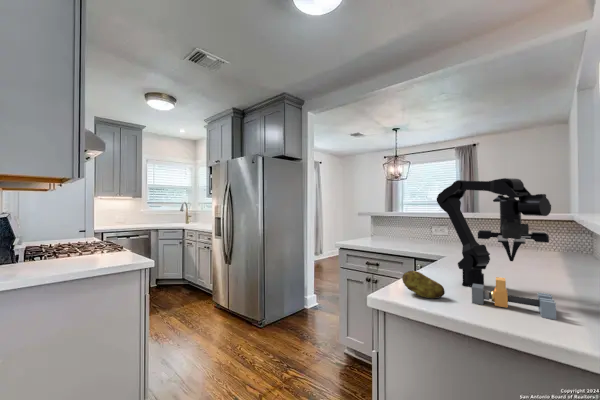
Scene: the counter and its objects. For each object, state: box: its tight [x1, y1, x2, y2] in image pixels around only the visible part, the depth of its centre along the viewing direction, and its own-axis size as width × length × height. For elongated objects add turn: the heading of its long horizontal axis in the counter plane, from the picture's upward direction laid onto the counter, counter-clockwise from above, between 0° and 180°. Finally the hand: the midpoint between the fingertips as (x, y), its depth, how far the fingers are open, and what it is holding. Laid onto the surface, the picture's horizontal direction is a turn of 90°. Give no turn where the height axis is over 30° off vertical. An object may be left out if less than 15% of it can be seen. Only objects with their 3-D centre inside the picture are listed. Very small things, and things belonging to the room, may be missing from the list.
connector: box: [471, 284, 490, 306], centre depth 88 cm, size 4×5×5 cm
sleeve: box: [493, 276, 509, 308], centre depth 85 cm, size 3×4×8 cm
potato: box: [401, 270, 446, 299], centre depth 95 cm, size 8×13×8 cm, turn 38°
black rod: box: [489, 291, 540, 308], centre depth 84 cm, size 14×2×2 cm, turn 54°
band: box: [490, 290, 495, 303], centre depth 86 cm, size 1×3×3 cm, turn 144°
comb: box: [537, 291, 557, 321], centre depth 79 cm, size 3×9×4 cm, turn 144°
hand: (511, 261), depth 93 cm, fingers closed
